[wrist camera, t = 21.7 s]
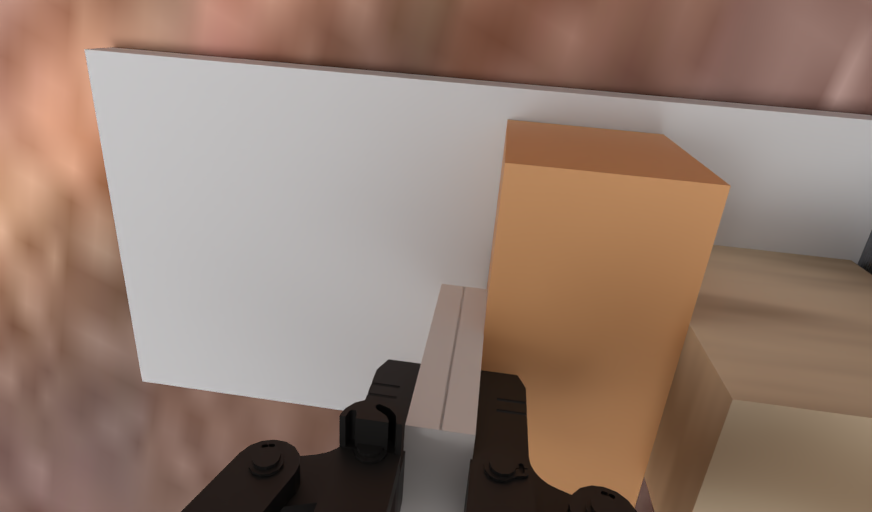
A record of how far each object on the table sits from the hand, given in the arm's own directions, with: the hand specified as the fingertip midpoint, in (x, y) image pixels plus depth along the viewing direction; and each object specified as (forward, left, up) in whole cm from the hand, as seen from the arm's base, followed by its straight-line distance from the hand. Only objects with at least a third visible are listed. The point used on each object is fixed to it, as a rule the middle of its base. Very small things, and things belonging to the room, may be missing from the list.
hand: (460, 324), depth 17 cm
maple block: (0, -9, -3) cm, 10 cm away
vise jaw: (0, -3, -3) cm, 5 cm away
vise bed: (0, -1, -5) cm, 5 cm away
